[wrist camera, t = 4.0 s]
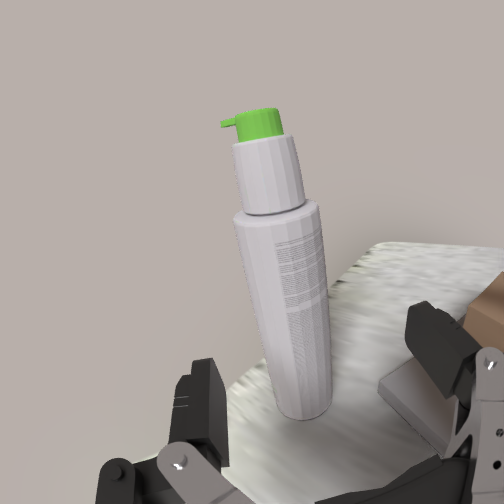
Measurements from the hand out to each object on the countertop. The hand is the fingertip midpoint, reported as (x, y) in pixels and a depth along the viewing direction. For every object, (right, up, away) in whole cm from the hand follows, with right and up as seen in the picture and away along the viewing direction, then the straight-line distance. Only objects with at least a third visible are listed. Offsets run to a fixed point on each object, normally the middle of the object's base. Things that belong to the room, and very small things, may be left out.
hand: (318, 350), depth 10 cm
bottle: (+2, -8, +10) cm, 13 cm away
